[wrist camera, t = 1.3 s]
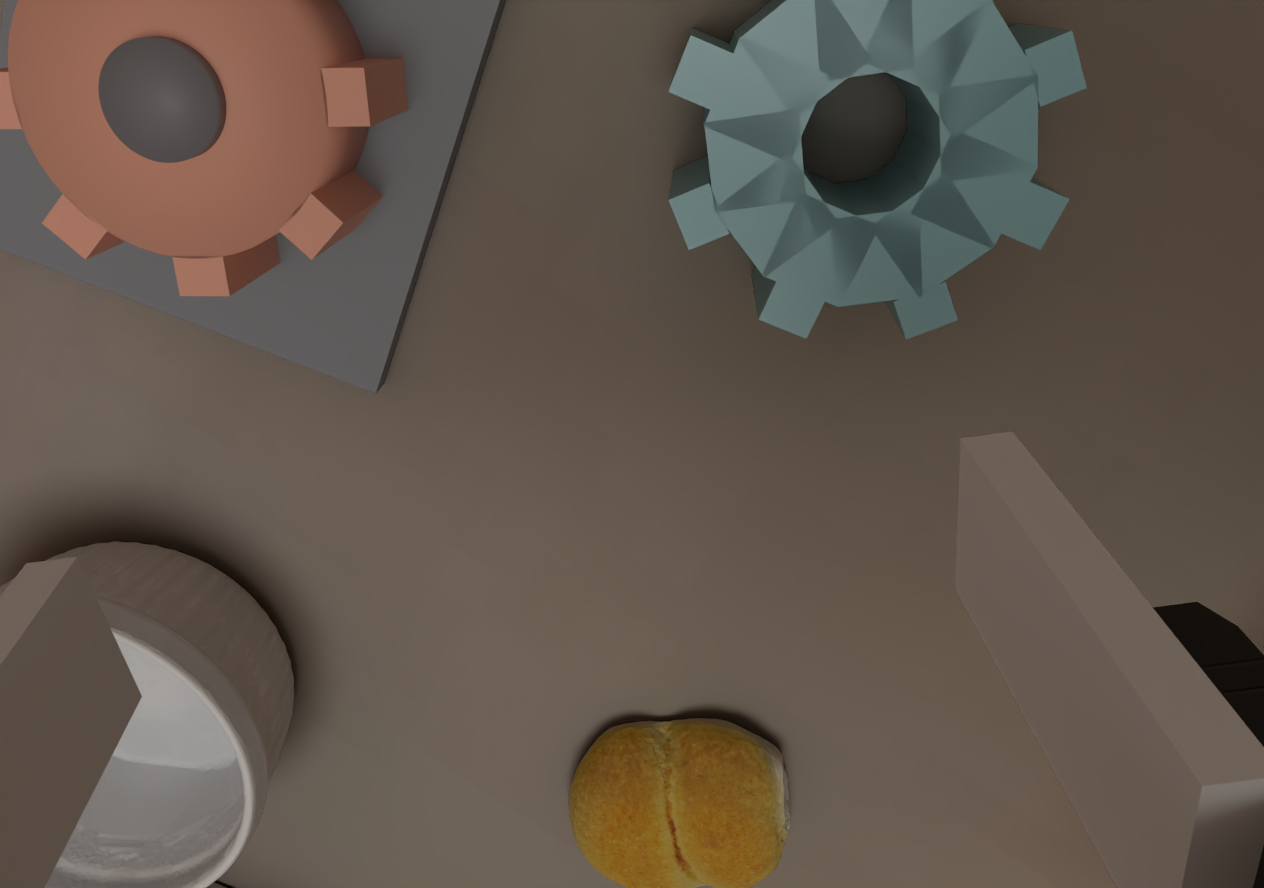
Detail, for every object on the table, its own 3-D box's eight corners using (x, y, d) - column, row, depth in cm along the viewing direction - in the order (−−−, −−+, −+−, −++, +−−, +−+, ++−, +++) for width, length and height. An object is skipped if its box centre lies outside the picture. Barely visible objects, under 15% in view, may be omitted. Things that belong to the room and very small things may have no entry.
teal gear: (758, -141, 30) (768, -163, 25) (1101, 15, 31) (1171, 21, 26) (617, 219, 34) (603, 256, 29) (922, 345, 35) (955, 399, 30)
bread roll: (556, 717, 43) (542, 786, 39) (777, 697, 41) (784, 766, 38) (591, 869, 46) (581, 946, 42) (797, 854, 45) (805, 932, 41)
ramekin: (-68, 583, 42) (-207, 690, 35) (197, 457, 39) (96, 550, 32) (133, 819, 46) (41, 953, 40) (384, 723, 43) (328, 851, 37)
